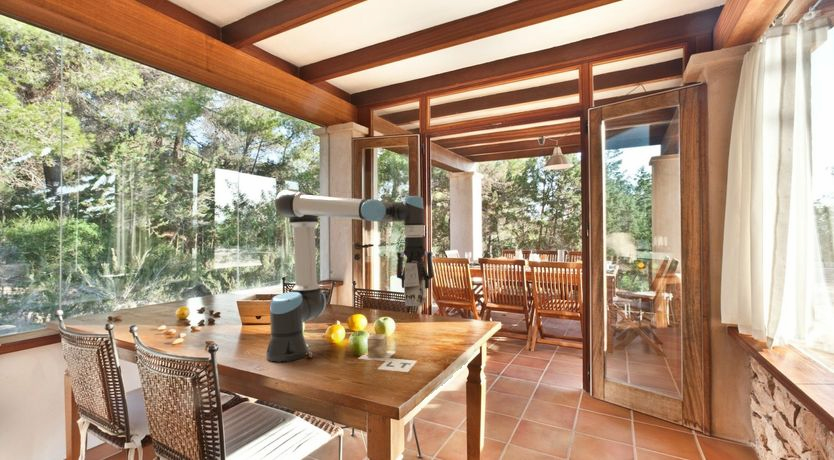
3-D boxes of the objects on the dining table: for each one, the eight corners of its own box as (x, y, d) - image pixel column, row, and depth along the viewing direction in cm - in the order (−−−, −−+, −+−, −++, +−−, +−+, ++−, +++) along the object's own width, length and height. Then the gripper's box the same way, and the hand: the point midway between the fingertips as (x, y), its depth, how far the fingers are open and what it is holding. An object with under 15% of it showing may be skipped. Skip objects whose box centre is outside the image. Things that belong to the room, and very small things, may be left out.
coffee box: (421, 306, 136) (420, 262, 136) (404, 306, 138) (403, 262, 138) (426, 301, 145) (425, 260, 145) (410, 301, 147) (409, 260, 147)
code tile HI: (357, 359, 137) (357, 358, 137) (369, 349, 147) (369, 349, 147) (385, 361, 134) (385, 360, 134) (396, 351, 144) (395, 351, 144)
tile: (377, 369, 126) (377, 368, 126) (388, 358, 137) (388, 358, 137) (407, 372, 123) (407, 371, 123) (417, 361, 134) (417, 360, 134)
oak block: (367, 357, 138) (367, 338, 138) (371, 352, 144) (371, 334, 144) (383, 357, 137) (383, 338, 137) (386, 352, 143) (386, 334, 143)
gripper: (386, 237, 141) (387, 297, 141) (437, 236, 135) (438, 299, 135) (393, 236, 148) (394, 294, 148) (441, 236, 142) (442, 295, 142)
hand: (415, 296), depth 142 cm, fingers closed on coffee box, 7 cm apart
